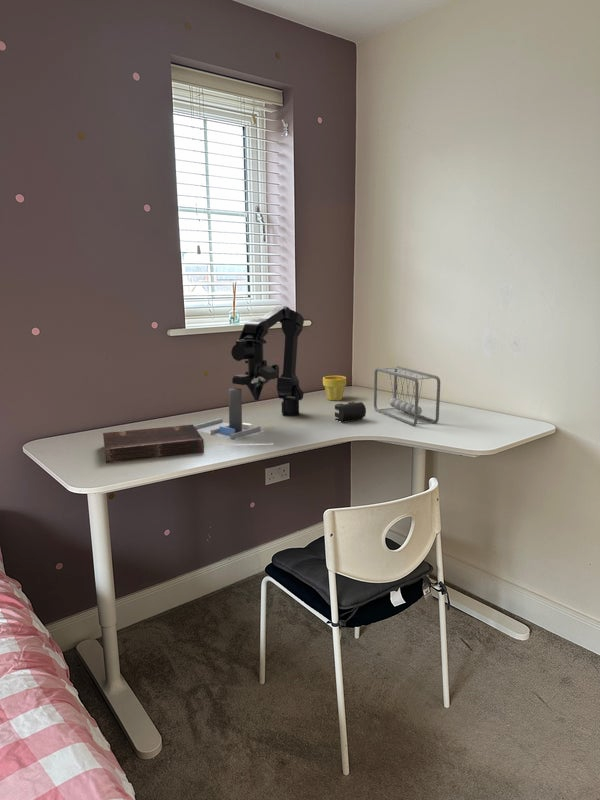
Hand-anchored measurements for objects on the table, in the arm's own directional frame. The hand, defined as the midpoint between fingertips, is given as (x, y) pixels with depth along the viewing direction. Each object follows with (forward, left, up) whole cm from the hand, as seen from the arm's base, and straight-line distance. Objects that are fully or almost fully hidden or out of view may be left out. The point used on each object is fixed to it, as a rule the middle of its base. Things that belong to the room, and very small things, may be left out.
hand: (256, 400), depth 206 cm
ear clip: (+4, +4, -10) cm, 11 cm away
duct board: (+11, +6, -10) cm, 16 cm away
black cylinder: (-35, -7, -10) cm, 37 cm away
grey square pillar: (+7, +8, -9) cm, 14 cm away
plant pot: (-33, -46, -10) cm, 58 cm away
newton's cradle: (-56, -12, -10) cm, 59 cm away
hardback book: (+32, +26, -11) cm, 42 cm away
